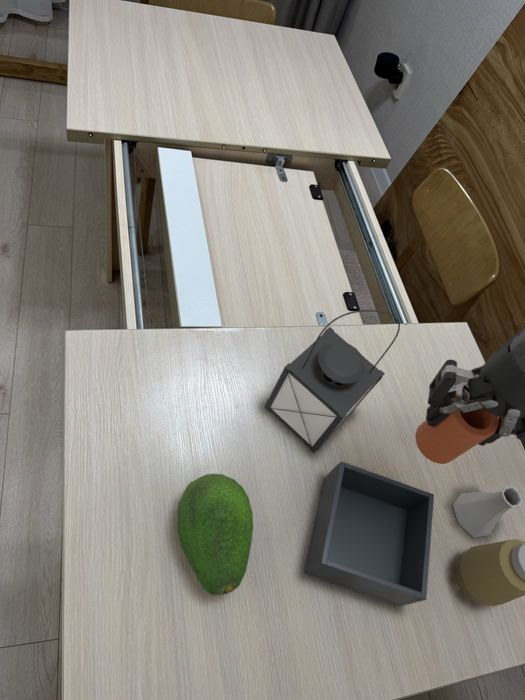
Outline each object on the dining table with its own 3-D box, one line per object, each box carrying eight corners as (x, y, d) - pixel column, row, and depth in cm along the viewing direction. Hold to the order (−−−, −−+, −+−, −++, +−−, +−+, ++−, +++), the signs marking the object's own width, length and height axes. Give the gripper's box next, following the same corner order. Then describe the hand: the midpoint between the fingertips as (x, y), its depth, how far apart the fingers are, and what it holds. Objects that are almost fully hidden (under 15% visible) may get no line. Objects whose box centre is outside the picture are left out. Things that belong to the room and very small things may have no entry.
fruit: (250, 596, 68) (267, 585, 60) (175, 602, 65) (182, 592, 57) (241, 484, 76) (255, 461, 67) (174, 486, 73) (180, 463, 65)
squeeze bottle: (437, 562, 76) (512, 534, 61) (476, 542, 79) (557, 512, 64) (466, 618, 72) (553, 604, 58) (507, 595, 76) (599, 576, 61)
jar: (457, 431, 68) (498, 401, 60) (455, 470, 64) (498, 443, 57) (417, 415, 68) (454, 383, 60) (412, 454, 64) (451, 425, 57)
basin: (409, 508, 79) (434, 494, 73) (399, 606, 71) (426, 600, 65) (323, 478, 79) (341, 460, 73) (303, 573, 71) (321, 563, 64)
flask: (444, 502, 81) (479, 483, 73) (475, 485, 84) (513, 464, 76) (471, 545, 78) (512, 530, 70) (503, 526, 82) (545, 509, 73)
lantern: (263, 406, 83) (315, 305, 60) (304, 368, 89) (366, 262, 66) (314, 454, 81) (388, 367, 58) (353, 411, 87) (435, 316, 64)
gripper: (613, 355, 51) (507, 423, 65) (481, 303, 50) (403, 383, 64) (623, 418, 47) (508, 477, 60) (479, 362, 46) (396, 434, 60)
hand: (454, 428), depth 62 cm, fingers closed on jar, 6 cm apart
